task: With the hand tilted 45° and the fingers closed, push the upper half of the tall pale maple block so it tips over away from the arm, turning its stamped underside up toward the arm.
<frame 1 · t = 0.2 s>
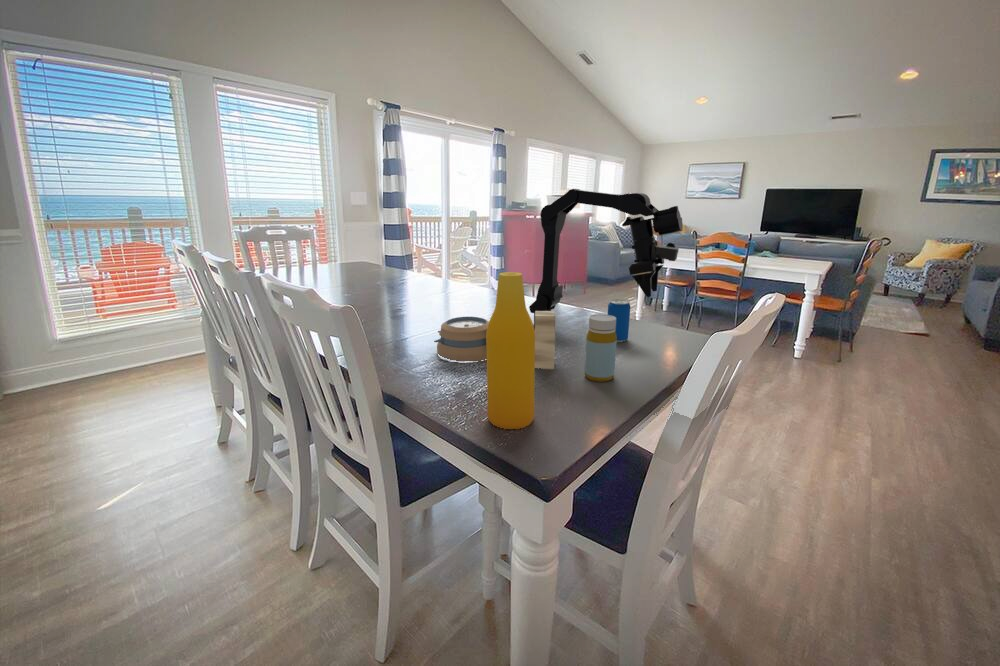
hand: (652, 294, 126), 15 cm above the table, tool pointing down, fingers open, 9 cm apart
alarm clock: (477, 353, 126), on the table
beer bottle: (510, 420, 88), on the table
beverage can: (616, 340, 136), on the table
bottle: (599, 377, 108), on the table
block: (544, 365, 116), on the table
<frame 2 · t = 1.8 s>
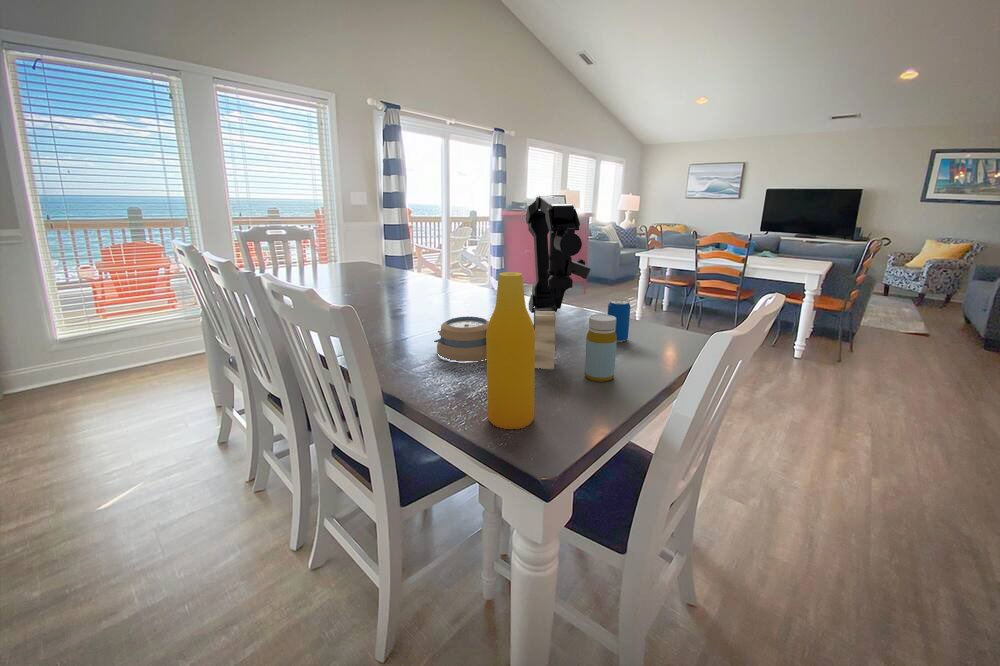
hand: (558, 306, 126), 12 cm above the table, tool pointing down, fingers open, 4 cm apart
nothing on the table moved.
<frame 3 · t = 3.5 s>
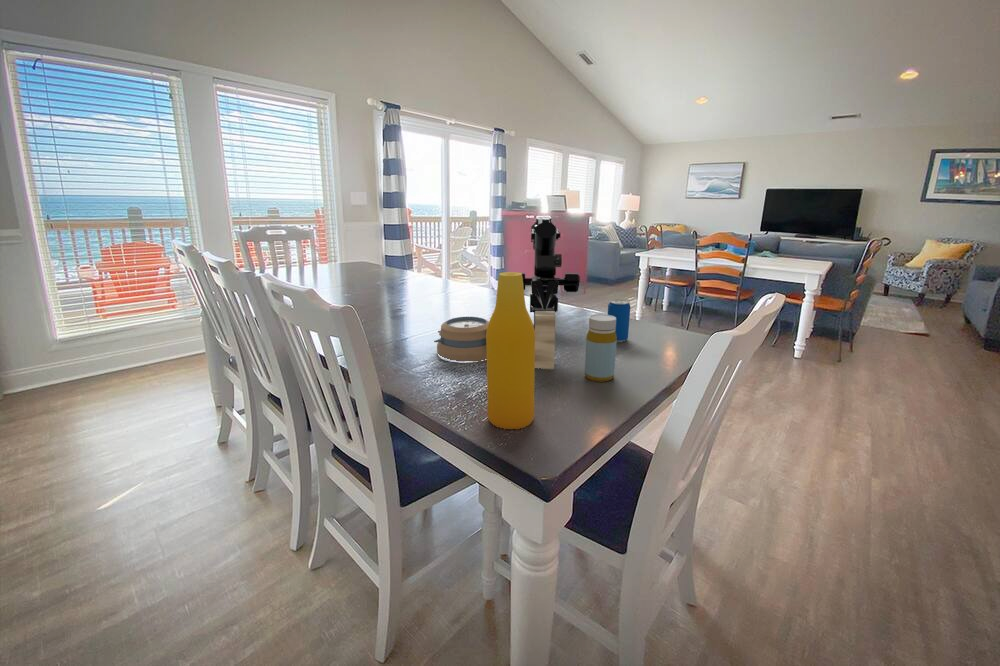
hand: (544, 308, 119), 13 cm above the table, tool tilted 45°, fingers closed
nothing on the table moved.
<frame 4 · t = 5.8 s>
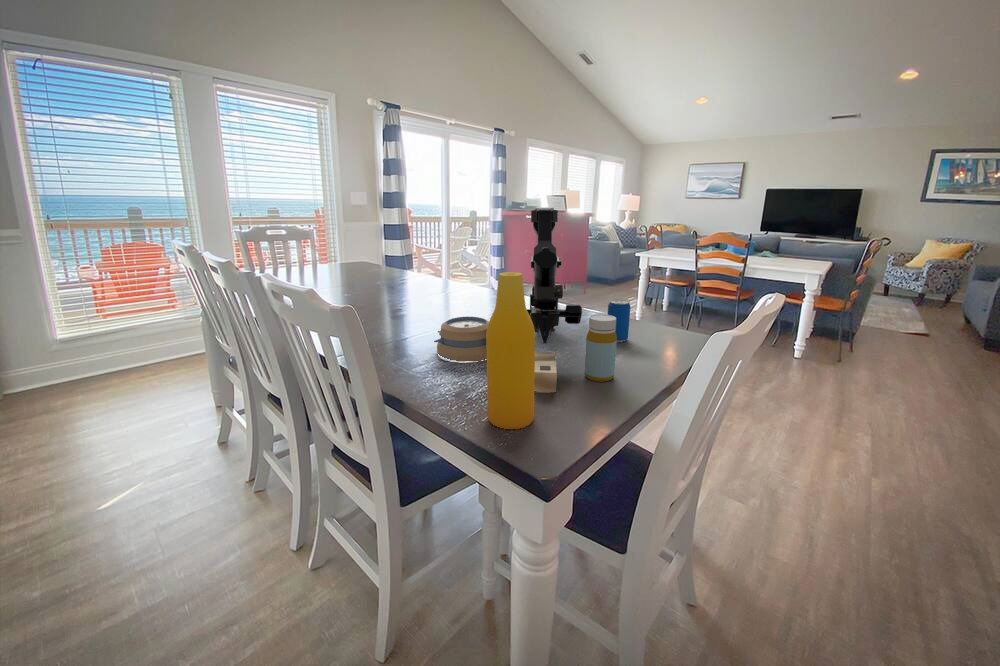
hand: (544, 342, 112), 7 cm above the table, tool tilted 45°, fingers closed
block: (544, 360, 113), point 2 cm above the table, tilted 90°
everything else where it was.
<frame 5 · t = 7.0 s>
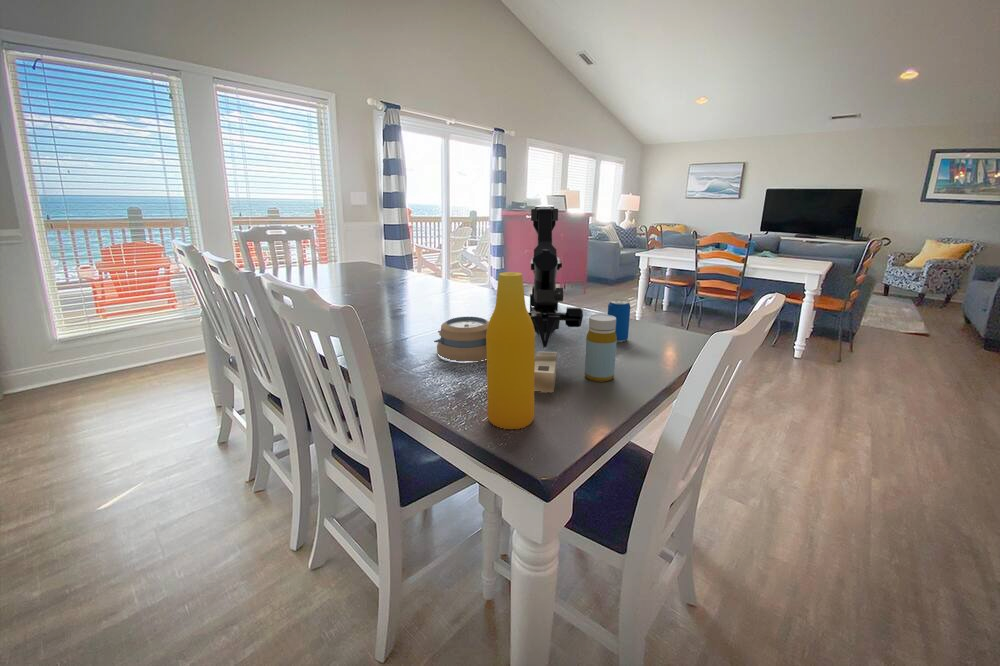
hand: (544, 346, 110), 7 cm above the table, tool tilted 45°, fingers closed
nothing on the table moved.
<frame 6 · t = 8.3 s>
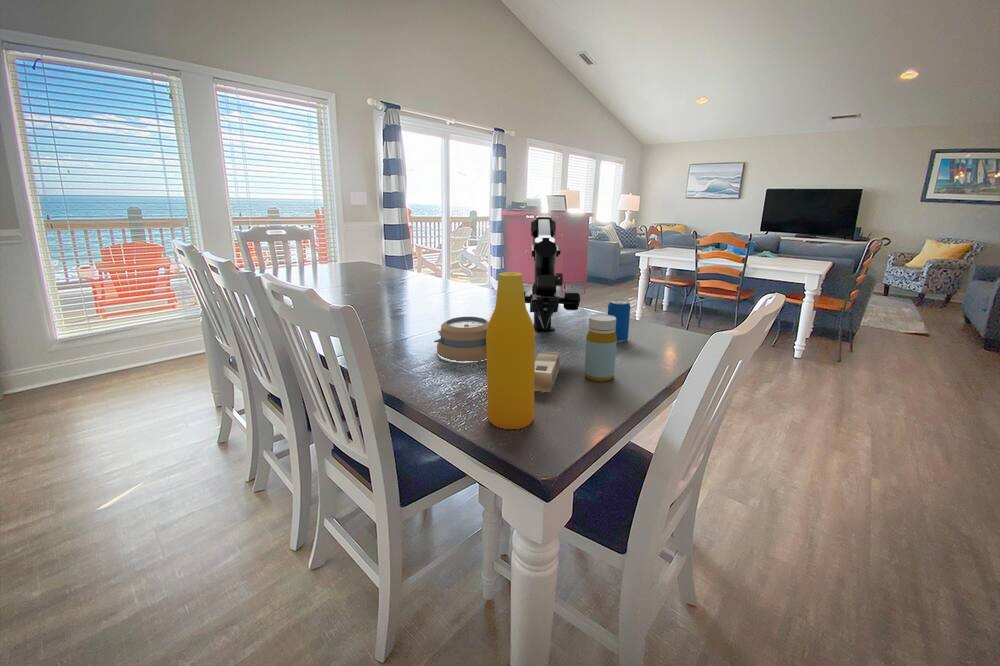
hand: (545, 327, 119), 9 cm above the table, tool tilted 45°, fingers closed
nothing on the table moved.
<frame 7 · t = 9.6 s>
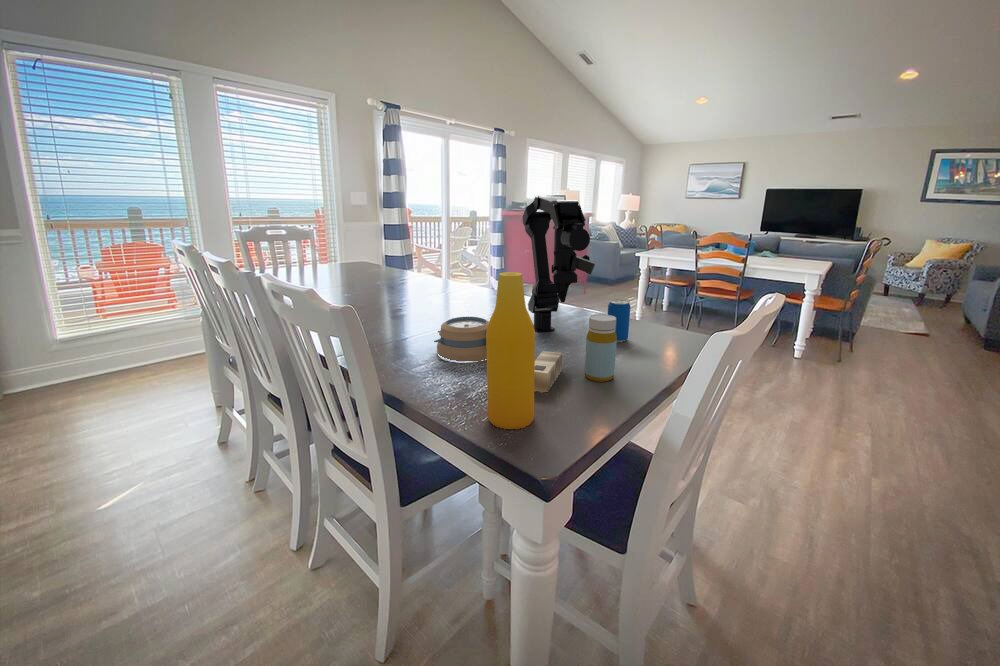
hand: (562, 302, 128), 13 cm above the table, tool pointing down, fingers closed
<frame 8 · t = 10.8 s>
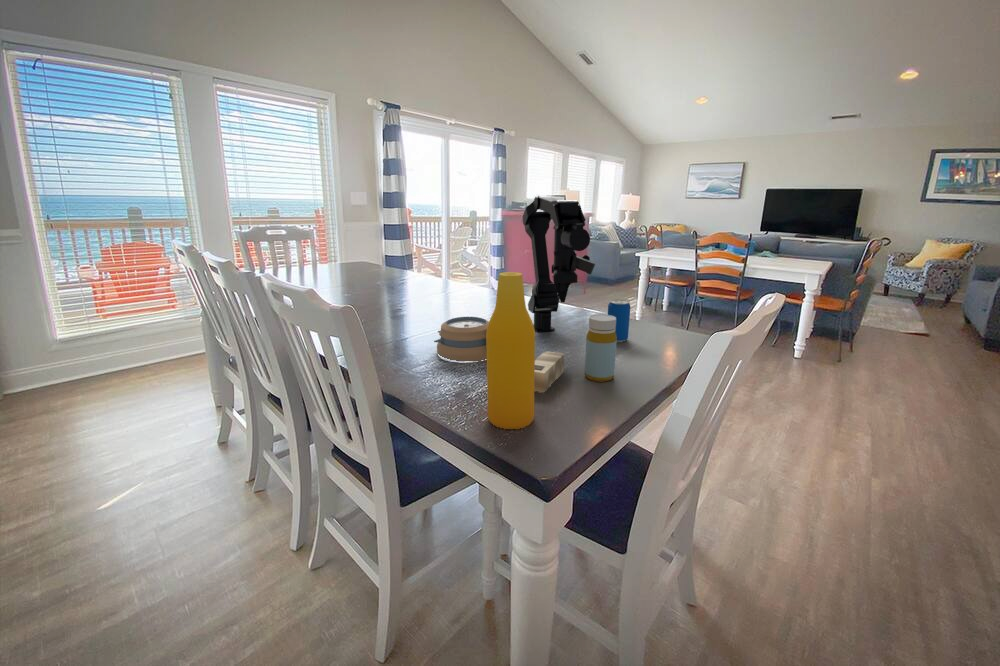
hand: (562, 302, 128), 13 cm above the table, tool pointing down, fingers closed
at the end: block tilted 90°; block inside the target area (6.8 cm from its centre), point 2.2 cm above the table; the gripper is holding nothing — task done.
